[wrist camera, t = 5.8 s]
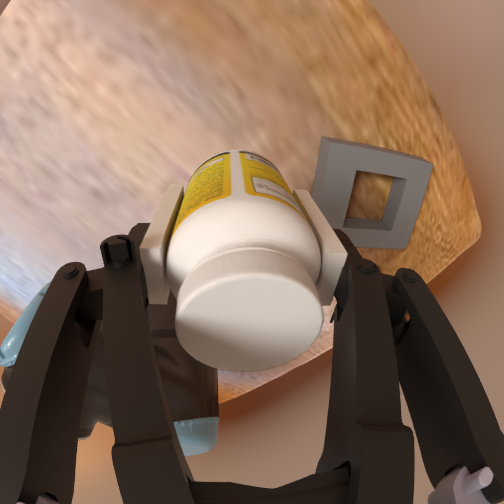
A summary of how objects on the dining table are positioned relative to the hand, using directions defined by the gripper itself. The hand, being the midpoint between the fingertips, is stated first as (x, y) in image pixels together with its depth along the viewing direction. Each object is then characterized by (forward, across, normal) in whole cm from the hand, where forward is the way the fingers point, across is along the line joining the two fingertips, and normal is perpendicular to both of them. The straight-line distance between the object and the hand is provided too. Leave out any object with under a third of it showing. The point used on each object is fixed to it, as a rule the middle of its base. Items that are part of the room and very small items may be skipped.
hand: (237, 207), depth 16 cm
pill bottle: (+2, 0, 0) cm, 2 cm away
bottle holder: (+17, -18, +4) cm, 25 cm away
